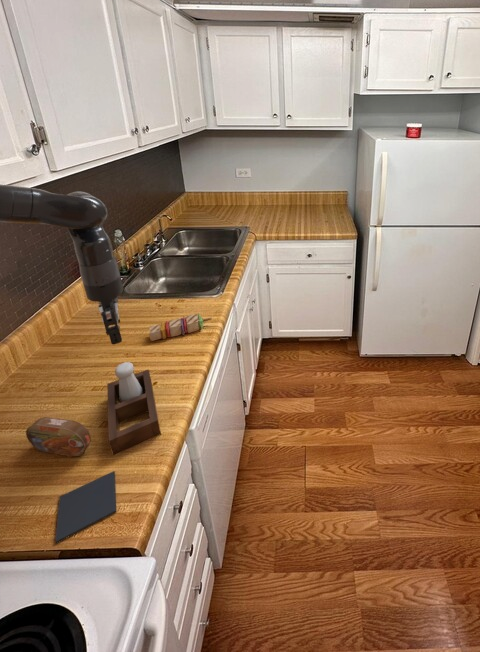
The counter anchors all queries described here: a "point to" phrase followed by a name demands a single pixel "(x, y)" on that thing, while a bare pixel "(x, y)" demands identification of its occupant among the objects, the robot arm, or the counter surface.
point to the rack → (131, 415)
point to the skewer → (177, 327)
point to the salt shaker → (127, 382)
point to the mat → (86, 506)
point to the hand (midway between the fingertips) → (116, 332)
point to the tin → (59, 436)
